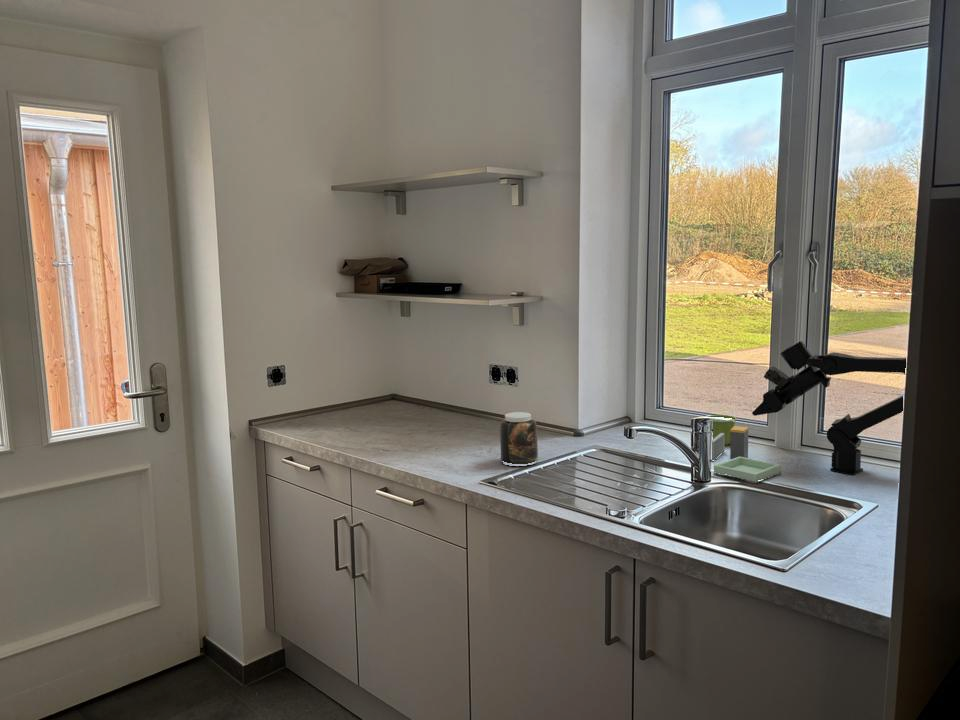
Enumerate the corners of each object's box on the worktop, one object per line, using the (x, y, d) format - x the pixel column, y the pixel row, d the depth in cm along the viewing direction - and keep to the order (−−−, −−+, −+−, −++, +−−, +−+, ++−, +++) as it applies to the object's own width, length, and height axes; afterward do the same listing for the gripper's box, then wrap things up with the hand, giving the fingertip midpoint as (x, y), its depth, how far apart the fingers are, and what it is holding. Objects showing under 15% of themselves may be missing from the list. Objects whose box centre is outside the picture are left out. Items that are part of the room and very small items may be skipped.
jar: (492, 463, 231) (491, 415, 229) (517, 455, 239) (515, 409, 237) (522, 469, 223) (520, 420, 221) (546, 460, 231) (544, 413, 229)
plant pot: (738, 447, 238) (738, 421, 237) (707, 447, 240) (707, 420, 239) (734, 440, 247) (734, 414, 246) (704, 440, 249) (705, 414, 248)
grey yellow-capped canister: (748, 457, 226) (748, 427, 225) (743, 461, 222) (744, 430, 221) (734, 456, 228) (734, 425, 227) (730, 460, 224) (730, 429, 223)
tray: (780, 473, 209) (781, 464, 209) (755, 483, 201) (755, 474, 201) (739, 464, 219) (739, 456, 219) (713, 473, 211) (713, 465, 211)
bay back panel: (724, 451, 233) (724, 433, 233) (713, 461, 223) (713, 441, 223) (720, 451, 234) (720, 432, 233) (709, 460, 224) (709, 441, 223)
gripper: (792, 355, 222) (750, 384, 231) (776, 364, 208) (731, 394, 216) (816, 386, 220) (772, 414, 228) (801, 397, 205) (754, 426, 213)
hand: (757, 411), depth 222 cm, fingers open, 9 cm apart
